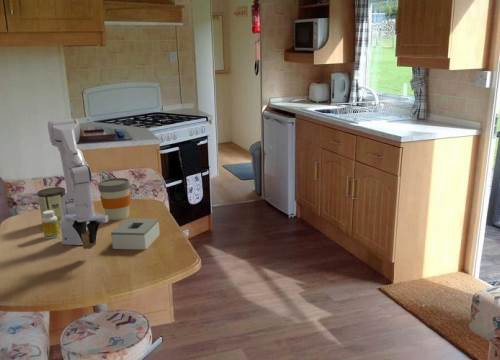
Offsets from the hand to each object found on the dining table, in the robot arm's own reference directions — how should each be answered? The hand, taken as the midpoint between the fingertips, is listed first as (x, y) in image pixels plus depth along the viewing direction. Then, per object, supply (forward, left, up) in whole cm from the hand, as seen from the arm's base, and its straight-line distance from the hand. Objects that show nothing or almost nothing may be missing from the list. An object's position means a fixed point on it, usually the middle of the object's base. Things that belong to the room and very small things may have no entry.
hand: (89, 242), depth 159 cm
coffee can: (-31, +31, -6) cm, 44 cm away
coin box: (+10, +15, -6) cm, 19 cm away
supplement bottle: (-25, +18, -6) cm, 31 cm away
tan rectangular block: (0, 0, -1) cm, 1 cm away
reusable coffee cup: (-9, +41, -6) cm, 42 cm away
